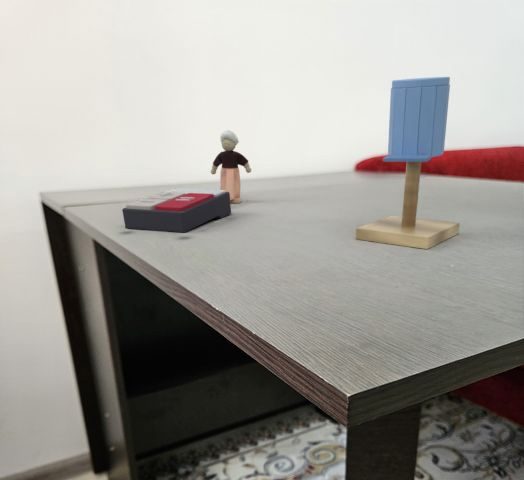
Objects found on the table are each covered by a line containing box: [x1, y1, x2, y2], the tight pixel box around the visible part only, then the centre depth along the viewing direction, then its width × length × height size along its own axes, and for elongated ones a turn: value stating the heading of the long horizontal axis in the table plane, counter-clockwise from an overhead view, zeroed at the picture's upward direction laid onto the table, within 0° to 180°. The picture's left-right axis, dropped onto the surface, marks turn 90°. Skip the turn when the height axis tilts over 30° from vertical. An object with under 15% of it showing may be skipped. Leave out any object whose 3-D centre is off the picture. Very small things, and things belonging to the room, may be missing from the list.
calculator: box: [121, 187, 232, 233], centre depth 83 cm, size 11×4×15 cm
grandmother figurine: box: [210, 129, 252, 204], centre depth 97 cm, size 8×4×13 cm, turn 90°
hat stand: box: [355, 162, 461, 250], centre depth 66 cm, size 10×10×18 cm
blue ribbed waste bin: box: [382, 76, 451, 163], centre depth 63 cm, size 9×7×8 cm
